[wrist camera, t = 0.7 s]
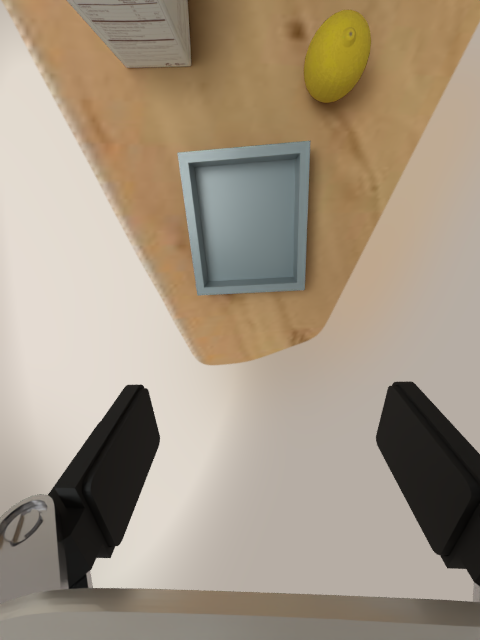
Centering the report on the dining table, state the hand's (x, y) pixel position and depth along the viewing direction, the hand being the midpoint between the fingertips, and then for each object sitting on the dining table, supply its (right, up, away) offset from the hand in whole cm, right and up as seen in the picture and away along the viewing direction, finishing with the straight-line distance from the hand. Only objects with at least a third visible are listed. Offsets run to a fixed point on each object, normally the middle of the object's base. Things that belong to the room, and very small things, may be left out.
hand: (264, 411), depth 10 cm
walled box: (0, +16, +23) cm, 28 cm away
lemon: (+8, +29, +17) cm, 35 cm away
